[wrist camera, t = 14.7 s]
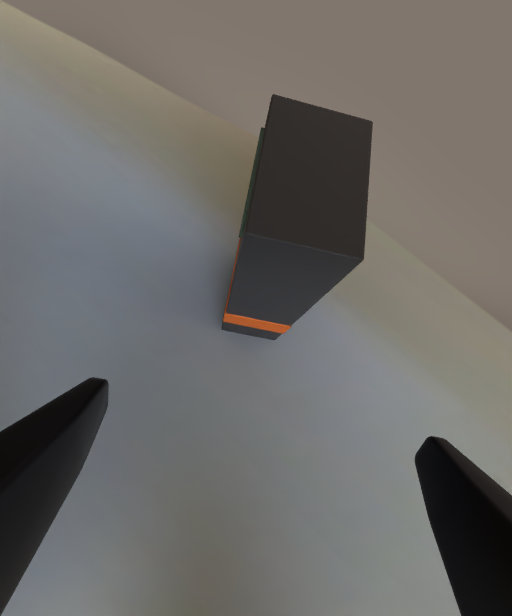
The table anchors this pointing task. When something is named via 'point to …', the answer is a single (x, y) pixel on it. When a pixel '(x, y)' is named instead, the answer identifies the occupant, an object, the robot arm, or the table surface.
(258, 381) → the table surface
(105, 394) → the robot arm
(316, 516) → the table surface
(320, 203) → the laser measure
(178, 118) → the table surface
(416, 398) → the table surface
